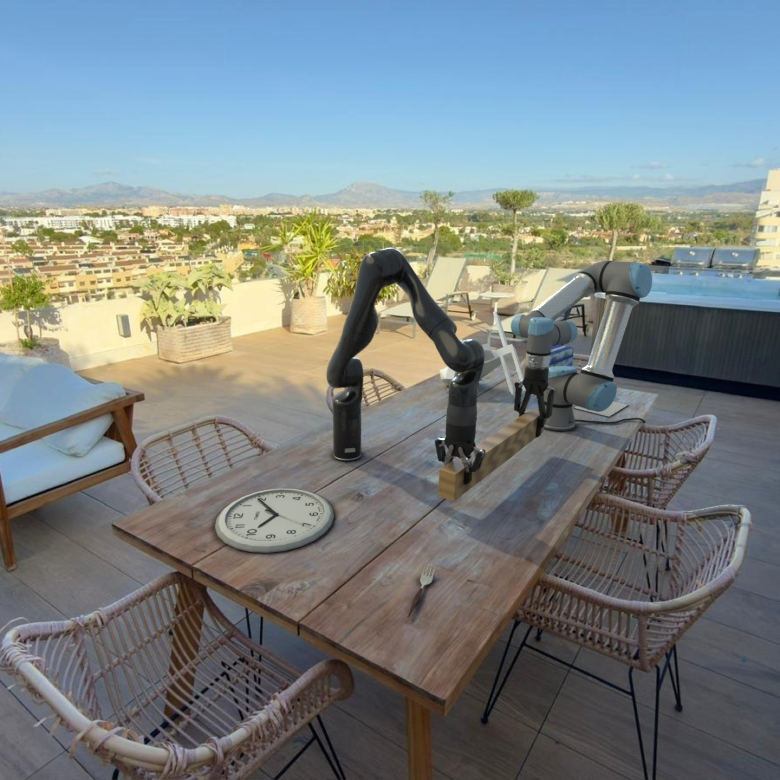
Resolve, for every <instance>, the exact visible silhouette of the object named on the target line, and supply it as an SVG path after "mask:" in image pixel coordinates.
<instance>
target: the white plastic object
mask: <svg viewBox="0 0 780 780" xmlns="http://www.w3.org/2000/svg"><path fill="white" fill-rule="evenodd" d="M492 315H493V319H494V321H495V324H496V325H495V326H496V328H497V332H498V335H499V338H500V342H501V345H502V347H500V348H498V349H496V350H495V349H493V348H492V347H491V346H490V344H489V343H488V342H487V343H483V344H481V345H482V347H483V349H484V354H485V360H484V366H483V370H482V374H481V377H480V380H479V383H480V382H482V381H484V378H485V377H486V376H487V375H489V374H490V373H492V372H494V371H495V370H496V369H497V368H499V367H500V366H502V370H503V373H504V376H505V380H506V383H507V386H508V390H509V393H510V394H511V395H512V397H513V398H515V391H516V389H515V385H514V381H513V378H512V375H511V371H510V369H509V365H508V361H510V360H513V363H514V366H515V369H516V372H517V376H518V380H519V381H523V379H524V371H523V369H522V368H523V367H522V366H521V362H520V359H519V355H518V352H517V349H516V347H515V346H514V345H513V343H511V344H508V341H507V337H506V334H505V331H504V328H503V325H502V321H501V318H500V315H499V314H498V312H497V311H496V310H495V311H492ZM458 339H459V338H458ZM459 340H460V341H461V342H462V341H465V339H463V338H460V339H459ZM438 372H439V376H440V381H442V383H443V384H444V385H445V386H449V384H450V382H451V380H452V379H453V378H454V377H455V376H456V374H457V372H455V371H453V370H452V369H450V368H449V367H448V366H446V367H444V368H442V369H440V370H439V371H438ZM522 392H523V393H524V394H525V392H526V389H525V387H524V385H523V387H522Z"/></svg>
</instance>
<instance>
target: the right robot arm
mask: <svg viewBox="0 0 780 780" xmlns="http://www.w3.org/2000/svg"><path fill="white" fill-rule="evenodd" d="M652 285H653V274H652V270H651V268H650V266H649V265H648V264H646V263H643V262H637V261H621V260H620V261H618V260H617V261H616V260H601V261H599V262H598V261H597V262H595V263H593V264H590V265H589V266H586V267H585V268H582V269H581V270H580V271H578V272H577V273H575V274H574V275H573V276H572V278H571V281H569V282H568V283H566V284H565V285H564V286H563V287H562V288H560V289H559V290H557V291H556V292H555V293H554V294H552V295H551V296H549V297H548V298H547V299H545V300H544V301H543V302H541V303H540V304H539V305H538V306H537V307H535V308H534V309H532V310H531V311H530V312H528V313H527V314H516V315H515V316H514V317H513V318H512V320H511V322H510V330H511V333H512V334H513V335H515V336H517V337H520V338H525V339H527V342H526V353H525V362H524V363H525V365H526V366H524V371H523V375H524V379H523V381H520V380H517V381H516V382H514V383H513V385H514V388H515V397H514V404H513V411H514V412H516V413H518V418H519V417H520V416H522V415H523V414H525V413H526V410H527V407H528V404H529V402H530V400H531V397H532V395H534V396H536V400H537V406H538V409H537V410H539V414H540V417H539V418H537V428H536V437H537V438H539V437H540V436H542V434H541V429H542V428H543V427H544V430H549V431H556V432H567V431H572V430H574V429H575V428H576V422H577V423H588V424H589V423H591V424H604V425H605V424H607V425H612V424H619V423H621V422H625V421H641V422H643V423H647V422H646V421H645V420H644V419H643V418H641V417H630V418H629V417H628V418H622V419H619V420H616V421H601V420H585V419H576V418H575V417H576V416H575V413H574V407H573V406H575V407H576V406H579V407H582V408H585V409H587V410H592V411H596V412H601V411H604V410H606V409H607V408H608V407H609V406H610V405H611V404H612V402H613V401H614V402H615V399H616V396H617V394H618V390H617V389H618V387H617V384H616V383H615V382H614V379H615V377H614V374H613V372H612V371H613V368H614V365H615V362H616V360H617V356H618V353H619V350H620V347H621V344H622V341H623V338H624V334H625V332H626V328H627V326H628V322H629V319H630V316H631V313H632V310H633V308H635V306H637V305H639V304H640V301H641V299H643V298H646V297H648V296H649V294H650V292H651V290H652V287H653V286H652ZM597 293H598V294H600V293H603V294H604V298H605V300H606V305H605V308H604V311H603V315H602V317H601V320H600V324H599V325H598V330H597V333H596V335H595V339H594V341H593V342H594V343H593V345H592V348H591V352H590V354H589V358H588V361H587V364H586V366H584V367H582V368H581V369H580V371H579V373H578V368H577V367H576V366H572V367H571V366H555V367H549V366H550V356H551V347H552V346H557V345H562V346H563V345H567V344H570V343H573V342H574V341H575V340H576V339H577V337H578V333H579V330H578V326H577V325H576V323H575V322H573V321H571V320H564V319H563V320H557V319H559V318H560V317H561V316H563V314H565V313H566V312H567V311H569V310H570V309H571V308H572V307H574V306H575V305H576V304H577V303H579V302H581V300H583V299H584V298H589V297H591V296H593V294H597ZM548 367H549V368H548ZM523 385H524V387H525V389H526V392H525V393H524V396H523V399H522V395H523V394H522V392H523V389H522V387H523Z"/></svg>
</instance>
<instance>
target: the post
mask: <svg viewBox="0 0 780 780" xmlns="http://www.w3.org/2000/svg"><path fill="white" fill-rule="evenodd" d="M524 413H525V414H523V415H522V416H520V417H519V416H518V417H517V418H516V419H513V421H511V422H509V423H508V424H506V425H505V426H503V427H501V428H500V429H499V430H497V431H496V432H494V433H493V434H491V435H489V436H488V437H487V438H485V439H484V440H482V441H480V442H479V443H477V444H475V445H476V447H477V448H479V449H480V450H482V449H484V450H485V451H486V453H485V455H484V458H483V461H482V464H481V466H480V469H478V470H477V471H476V472H472V481H471V482H470V483H469V484H467V485H464V484H463V483H464V472H465V468H464V464H462V461H461V459H460V458H458V457H455V458H454V459H453V461H451V462H450V463H448V464H447V465H443V466H442V467H441V468H439V469H438V470H439V471H438V491H437V497H440V498H443V499H446V500H448V501H451V502H456V501H457V500H458V499H459V498H461V497H462V496H463V495H464V494H466V493H467V492H468V491H470V490H471V489H472V488H473V487H475V486H476V485H478V484H479V483H480V482H481V481H483V480H484V479H485V478H487V476H489V475H490V474H491V473H493V472H495V470H497V469H498V468H499V467H501V466H502V465H503V464H505V462H507V461H508V460H510V459H511V458H512V457H514V456H515V455H516V454H517V453H519V452H520V451H521V450H522V449H524V448H525V447H526V446H528V445H529V444H530V443H532V442H533V441H534V440H535V439H536V438H538V437H536V428H537V418H539V417H540V414H539V410H538V409H536V408H531V409H529V410H528V411H525V412H524ZM544 430H545V429H544V427H543V428H542V429H541V435H542V434H543V433H544ZM471 454H472V458H473V460H472V462H473V463H474V460H475V457H474V454H475V453H474V451H473V452H472V453H471Z"/></svg>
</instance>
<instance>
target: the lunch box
mask: <svg viewBox="0 0 780 780" xmlns="http://www.w3.org/2000/svg"><path fill="white" fill-rule="evenodd" d="M573 363H574V347H572V346H568V345H563V344H562V345H557V346H552V347H551V356H550V366H549V367H555V366H571V367H573ZM549 367H548V368H549Z"/></svg>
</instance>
